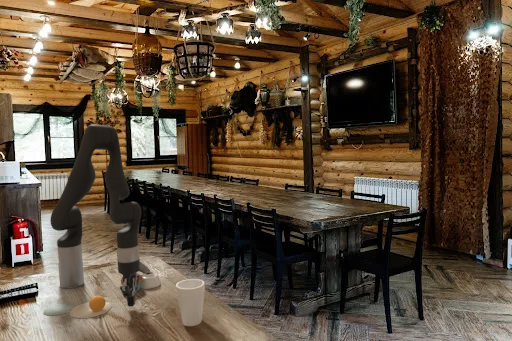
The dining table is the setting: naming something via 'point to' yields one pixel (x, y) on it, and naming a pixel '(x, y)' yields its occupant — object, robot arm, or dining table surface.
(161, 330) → the dining table surface
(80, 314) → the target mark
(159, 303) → the dining table surface
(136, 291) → the cupcake
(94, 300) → the ball
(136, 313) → the dining table surface
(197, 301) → the foam cup
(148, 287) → the inkwell
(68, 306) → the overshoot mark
